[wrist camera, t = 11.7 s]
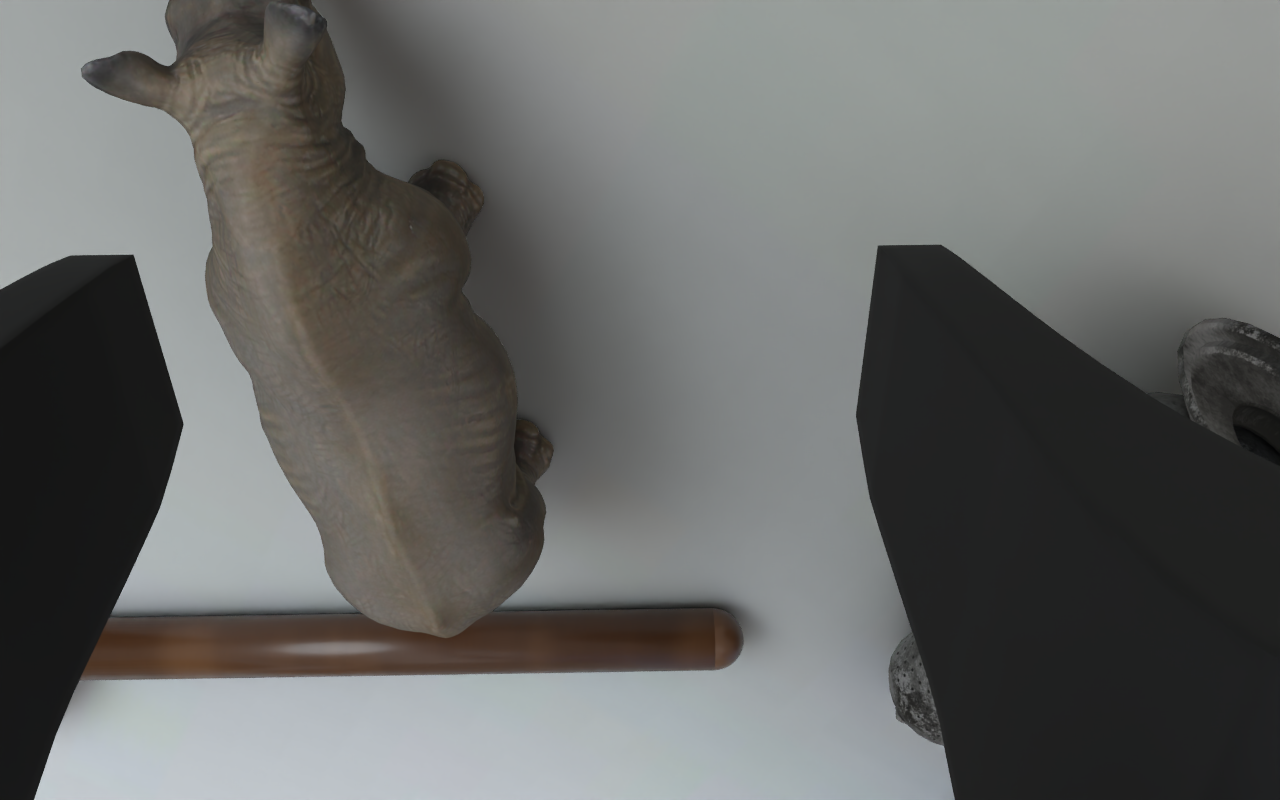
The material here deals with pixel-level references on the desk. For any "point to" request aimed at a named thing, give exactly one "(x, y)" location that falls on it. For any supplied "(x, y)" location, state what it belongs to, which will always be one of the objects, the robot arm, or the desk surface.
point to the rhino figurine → (351, 318)
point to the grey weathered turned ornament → (1213, 397)
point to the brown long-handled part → (414, 645)
